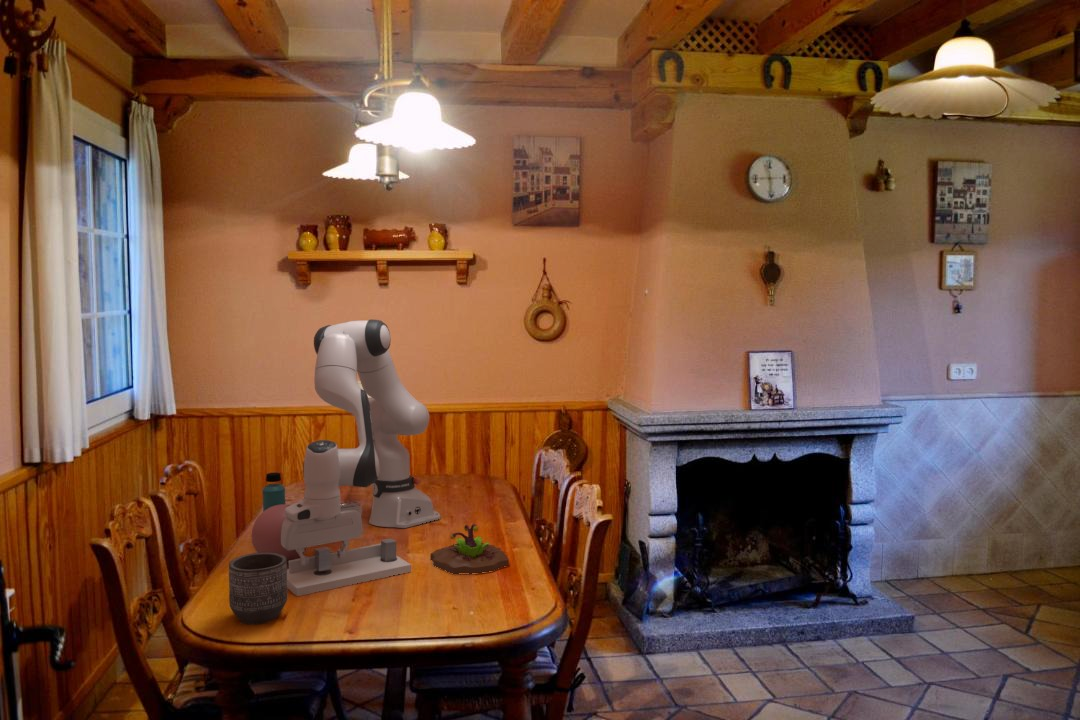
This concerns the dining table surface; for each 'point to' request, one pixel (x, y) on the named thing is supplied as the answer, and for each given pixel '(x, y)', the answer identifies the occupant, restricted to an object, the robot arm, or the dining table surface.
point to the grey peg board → (347, 568)
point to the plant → (469, 555)
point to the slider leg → (322, 558)
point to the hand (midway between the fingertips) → (323, 560)
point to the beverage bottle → (273, 491)
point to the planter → (258, 587)
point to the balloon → (271, 532)
